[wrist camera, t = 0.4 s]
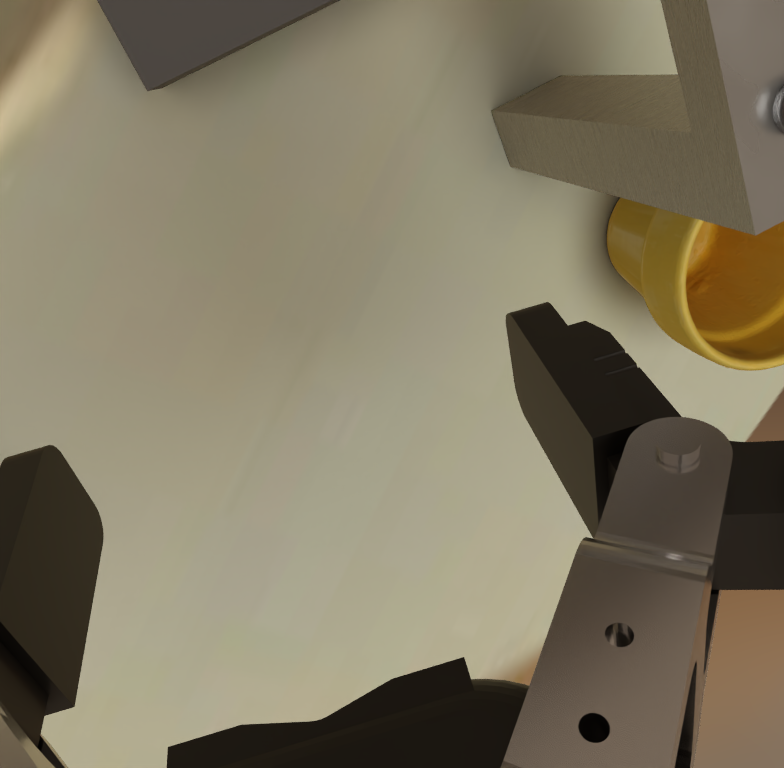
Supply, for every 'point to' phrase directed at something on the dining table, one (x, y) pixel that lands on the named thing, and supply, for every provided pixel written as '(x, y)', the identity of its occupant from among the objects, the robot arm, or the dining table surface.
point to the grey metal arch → (672, 121)
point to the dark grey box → (195, 31)
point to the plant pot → (705, 282)
